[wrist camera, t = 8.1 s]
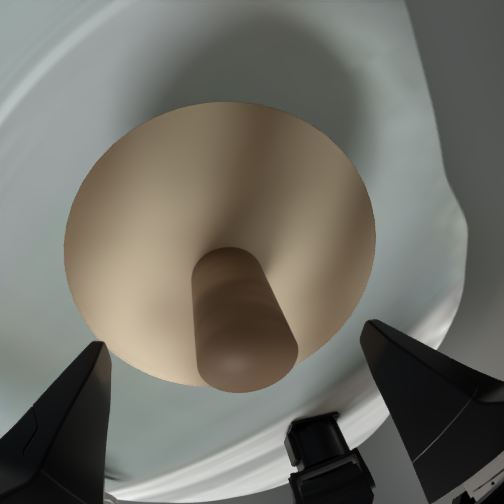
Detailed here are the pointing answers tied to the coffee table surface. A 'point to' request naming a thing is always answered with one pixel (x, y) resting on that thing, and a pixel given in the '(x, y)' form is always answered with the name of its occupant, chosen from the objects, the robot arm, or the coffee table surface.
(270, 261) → the lid
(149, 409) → the coffee table surface
